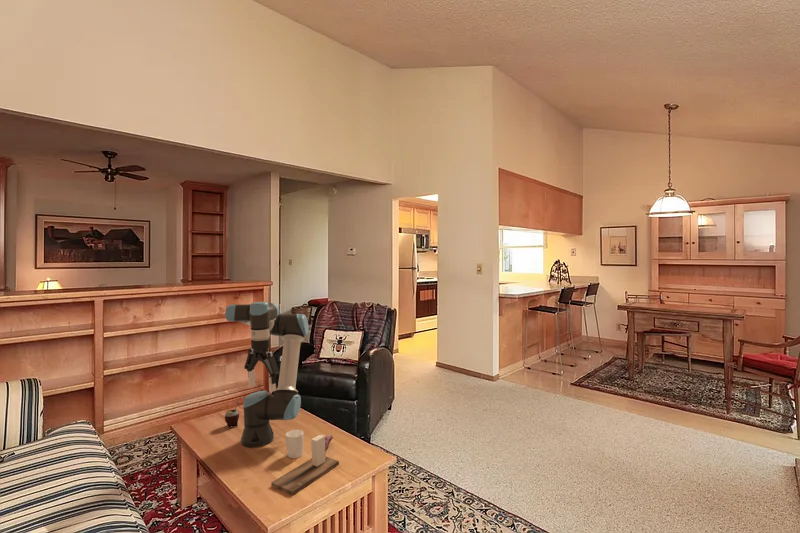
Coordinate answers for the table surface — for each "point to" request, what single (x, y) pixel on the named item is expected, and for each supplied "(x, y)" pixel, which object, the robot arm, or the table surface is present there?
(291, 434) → the white cup
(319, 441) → the fader knob
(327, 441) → the video game controller
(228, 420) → the mate gourd
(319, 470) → the board
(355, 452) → the table surface
